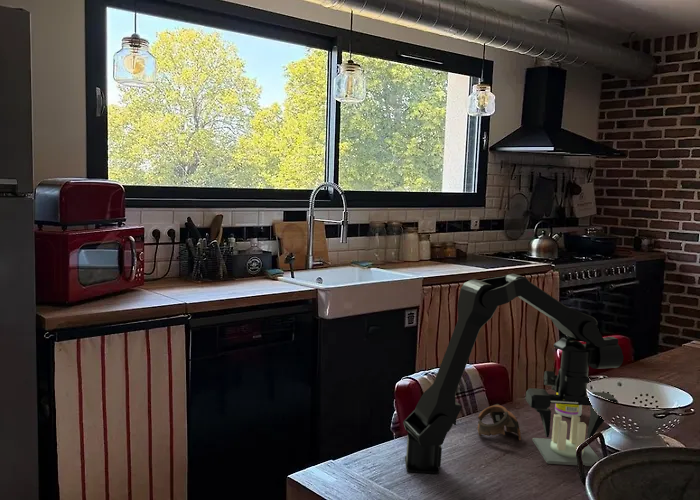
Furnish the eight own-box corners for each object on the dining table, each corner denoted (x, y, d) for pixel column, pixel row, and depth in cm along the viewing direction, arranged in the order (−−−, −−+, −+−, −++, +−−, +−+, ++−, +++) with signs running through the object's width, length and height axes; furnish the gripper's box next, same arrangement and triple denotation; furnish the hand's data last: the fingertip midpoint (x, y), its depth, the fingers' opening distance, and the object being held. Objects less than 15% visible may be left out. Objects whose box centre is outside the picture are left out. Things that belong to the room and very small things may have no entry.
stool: (555, 456, 137) (558, 424, 136) (546, 443, 144) (549, 412, 143) (588, 458, 137) (591, 426, 136) (577, 444, 144) (580, 414, 143)
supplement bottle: (564, 407, 170) (568, 360, 169) (586, 415, 165) (591, 367, 164) (549, 411, 166) (553, 364, 165) (571, 420, 161) (576, 370, 159)
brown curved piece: (528, 448, 144) (515, 420, 141) (488, 461, 146) (475, 434, 143) (517, 416, 155) (505, 389, 152) (480, 428, 157) (468, 402, 154)
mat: (547, 463, 135) (547, 460, 135) (532, 440, 147) (532, 437, 147) (604, 466, 135) (604, 464, 135) (584, 443, 147) (585, 440, 147)
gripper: (603, 361, 146) (597, 426, 148) (522, 356, 147) (517, 421, 149) (623, 376, 135) (616, 446, 137) (535, 370, 136) (529, 441, 138)
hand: (568, 437), depth 140 cm, fingers open, 9 cm apart
